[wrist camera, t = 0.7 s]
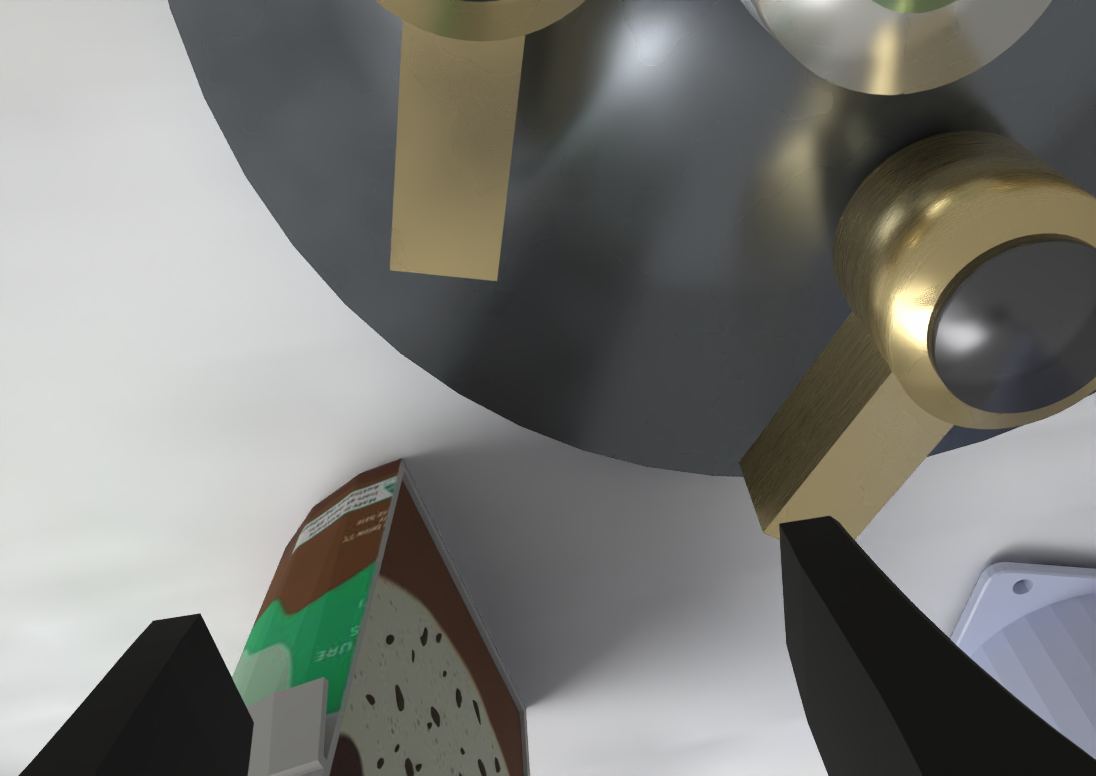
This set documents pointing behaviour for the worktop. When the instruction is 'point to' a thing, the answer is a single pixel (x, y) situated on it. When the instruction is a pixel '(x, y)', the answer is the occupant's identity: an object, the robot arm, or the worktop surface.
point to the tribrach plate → (639, 188)
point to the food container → (376, 650)
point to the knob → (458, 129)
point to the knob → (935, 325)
